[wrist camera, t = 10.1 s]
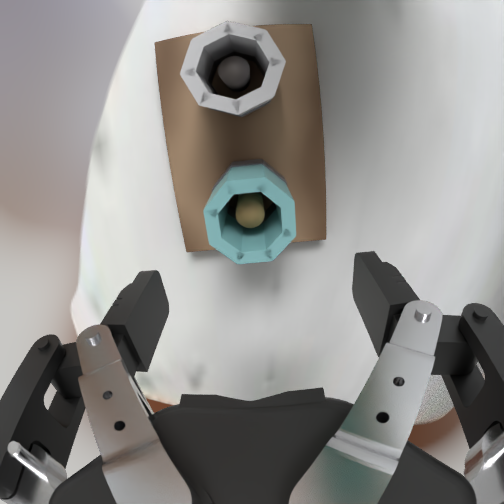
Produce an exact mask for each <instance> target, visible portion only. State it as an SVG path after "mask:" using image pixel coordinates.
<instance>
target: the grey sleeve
mask: <svg viewBox="0 0 504 504" xmlns="http://www.w3.org/2000/svg"><path fill="white" fill-rule="evenodd" d="M231 56H238V57H241V58H243V59H246V60H250V61H253V62H255V63H256V65H257V66H258V68H259V70H260V71H261V73H262V75H263V76H264V80H263V83H262V86H261V87H260V88H258V89H256V90H254V91H252V92H250V93H248V94H246V95H244V96H242V97H240V98H238V99H232V98H228V97H224V96H220V95H218V93H217V92H216V90H215V89H214V87H213V85H212V81H213V78H214V75H215V72H216V69H217V66H219V65H220V63H221V62H222V61H223V60H224V59H226V58H228V57H231ZM285 63H286V61H285V59H284V57H283V56H282V54H281V52H280V51H279V49H278V47H277V46H276V44H275V43H274V41H273V39H272V38H271V36H270V35H269V33H268V32H267V30H265V29H261V28H257V27H253V26H249V25H245V24H240V23H236V22H231V21H226V22H224V23H222V24H219V25H217V26H215V27H213V28H211V29H210V30H208V31H206V32H204V33H202V34H200V35H198V36H196V37H195V38H193V39H192V40H191V42H190V45H189V48H188V51H187V53H186V56H185V59H184V63H183V66H182V69H181V72H180V75H181V77H182V79H183V80H184V82H185V83H186V85H187V87H188V88H189V90H190V92H191V93H192V95H193V97H194V98H195V100H196V102H197V103H198V105H199V106H203V107H208V108H209V109H211V110H215V111H219V112H224V113H227V114H231V115H235V116H239V117H243V116H245V115H247V114H249V113H251V112H253V111H255V110H257V109H259V108H261V107H263V106H265V105H267V104H269V103H270V102H271V99H272V98H273V97H274V96H275V93H276V90H277V87H278V84H279V81H280V78H281V75H282V72H283V69H284V66H285Z"/></svg>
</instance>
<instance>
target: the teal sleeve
mask: <svg viewBox="0 0 504 504" xmlns="http://www.w3.org/2000/svg"><path fill="white" fill-rule="evenodd" d="M252 192H262V193H263V194H264V195H265V196H267V197H268V198H269V199H270V200H272V201H273V203H272V204H271V205H270V206H269V208H268V209H267V210H266V211H265V212H264V213H265V216H264V220H263V222H262V223H261V224H260V225H259V226H257V227H254V228H246V227H243V226H242V225H240V224H239V222H238V221H237V219H236V210H235V209H234V208H232V207H231V206H230V205H229V200H230V198H231V197H232V196H233V195H234V194H242V193H252ZM203 212H204V218H205V224H206V230H207V235H208V241H209V245H211V246H212V247H214V248H215V249H216V250H218V251H219V252H221V253H222V254H224V255H225V256H226V257H228V258H229V259H231V260H232V261H233V262H235V263H236V264H247V263H258V262H269V261H273V260H274V259H275V258H276V257H277V256H278V255H279V254H280V253H281V252H282V251H283V250H284V249H285V247H286V246H287V245H288V244H289V243H290V242H291V241H292V240H293V239H294V238H295V237H296V220H295V202H294V199H293V197H292V195H291V193H290V191H289V189H288V187H287V182H286V180H285V178H284V176H282V175H281V174H280V173H279V172H278V171H276V170H275V169H274V168H273V167H271V166H270V165H269V164H268V163H267V162H265V161H264V160H263V159H254V160H244V161H235V162H232V163H231V164H230V166H229V167H228V168H227V169H226V170H225V172H224V173H223V174H222V175H221V177H220V178H219V179H218V181H217V182H216V183H215V185H214V187H213V188H212V194H211V196H210V198H209V200H208V202H207V204H206V206H205V208H204V210H203Z"/></svg>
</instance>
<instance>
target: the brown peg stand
mask: <svg viewBox="0 0 504 504" xmlns="http://www.w3.org/2000/svg"><path fill="white" fill-rule="evenodd" d="M253 27H257V28H261V29H265V30H267V32H268V33H269V35H270V36H271V38H272V39H273V41H274V43H275V44H276V46H277V47H278V49H279V51H280V52H281V54H282V56H283V57H284V59H285V61H286V63H285V66H284V69H283V72H282V75H281V78H280V81H279V84H278V87H277V90H276V93H275V96H274V97H273V98H272V99H271V102H270V103H269V104H267V105H265V106H263V107H261V108H259V109H257V110H255V111H253V112H251V113H249V114H247V115H245V116H243V117H239V116H235V115H231V114H227V113H224V112H219V111H215V110H211V109H209V108H208V107H203V106H199V105H198V103H197V102H196V100H195V98H194V97H193V95H192V93H191V92H190V90H189V88H188V87H187V85H186V83H185V82H184V80H183V79H182V77H181V75H180V72H181V69H182V66H183V63H184V59H185V56H186V53H187V51H188V48H189V45H190V42H191V40H192V39H193V38H195V37H196V36H198V35H200V34H202V33H204V32H201V33H196V34H190V35H185V36H181V37H176V38H171V39H167V40H163V41H159V42H155V53H156V64H157V74H158V83H159V92H160V100H161V108H162V115H163V123H164V130H165V137H166V143H167V150H168V156H169V162H170V168H171V174H172V180H173V186H174V191H175V197H176V202H177V207H178V213H179V218H180V223H181V228H182V233H183V237H184V242H185V247H186V251H187V252H194V251H205V250H215V248H214V247H212V246H211V245H209V241H208V235H207V230H206V224H205V218H204V212H203V210H204V208H205V206H206V204H207V202H208V200H209V198H210V196H211V194H212V188H213V187H214V185H215V183H216V182H217V181H218V179H219V178H220V177H221V175H222V174H223V173H224V172H225V170H226V169H227V168H228V167H229V166H230V164H231V163H232V162H235V161H244V160H254V159H263V160H264V161H265V162H267V163H268V164H269V165H270V166H271V167H273V168H274V169H275V170H276V171H278V172H279V173H280V174H281V175H282V176H284V178H285V180H286V182H287V187H288V189H289V191H290V193H291V195H292V197H293V199H294V202H295V220H296V237H295V238H294V239H293V240H292V241H291V242H302V241H313V240H325V239H326V181H325V157H324V138H323V123H322V110H321V98H320V88H319V78H318V69H317V60H316V52H315V45H314V37H313V30H312V24H278V25H259V26H253ZM263 80H264V76H263V75H262V73H261V71H260V70H259V68H258V66H257V65H256V63H255V62H253V61H250V60H246V59H243V58H241V57H238V56H231V57H228V58H226V59H224V60H223V61H222V62H221V63H220V65H219V66H217V69H216V72H215V75H214V78H213V81H212V85H213V87H214V89H215V90H216V92H217V93H218V95H220V96H224V97H228V98H232V99H238V98H240V97H242V96H244V95H246V94H248V93H250V92H252V91H254V90H256V89H258V88H260V87H261V86H262V83H263ZM272 203H273V201H272V200H270V199H269V198H268V197H267V196H265V195H264V194H263V193H262V192H252V193H242V194H234V195H233V196H232V197H231V198H230V200H229V205H230V206H231V207H232V208H234V209H235V210H236V219H237V221H238V222H239V224H240V225H242V226H243V227H246V228H254V227H257V226H259V225H260V224H261V223H262V222H263V220H264V216H265V213H264V212H265V211H266V210H267V209H268V208H269V206H270V205H271V204H272ZM291 242H290V243H291Z"/></svg>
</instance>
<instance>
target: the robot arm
mask: <svg viewBox="0 0 504 504" xmlns="http://www.w3.org/2000/svg"><path fill="white" fill-rule="evenodd" d="M352 291H353V298H354V301H355V303H356V306H357V308H358V310H359V312H360V315H361V317H362V319H363V322H364V324H365V326H366V329H367V331H368V333H369V336H370V338H371V341H372V343H373V345H374V348H375V350H376V353H377V355H378V357H379V359H378V361H377V363H376V365H375V367H374V369H373V371H372V373H371V375H370V377H369V378H368V380H367V382H366V384H365V386H364V388H363V390H362V391H361V393H360V395H359V397H358V398H357V400H356V402H355V404H352V403H349V402H347V401H343V400H340V399H335V398H327V397H325V395H324V390H323V388H315V389H306V390H297V391H287V392H284V393H281V394H277V395H274V396H270V397H266V398H263V399H259V400H255V401H244V400H239V399H233V398H228V397H223V396H218V395H190V394H182V395H181V400H180V404H178V405H174V406H170V407H167V408H164V409H162V410H160V411H158V412H156V413H153V411H152V409H151V407H150V405H149V404H148V402H147V400H146V398H145V396H144V394H143V392H142V390H141V388H140V386H139V384H138V382H137V380H136V379H135V377H134V376H135V373H136V371H140V372H148V369H149V366H150V363H151V360H152V358H153V355H154V352H155V349H156V347H157V344H158V341H159V338H160V336H161V333H162V330H163V328H164V325H165V323H166V320H167V317H168V314H169V303H168V299H167V296H166V293H165V289H164V286H163V283H162V279H161V276H160V273H159V272H158V271H157V270H152V271H141V272H139V273H138V275H137V276H136V278H135V280H134V281H133V283H132V284H129V285H128V286H126V287H125V288H124V289H123V290H122V291H121V292H120V294H119V295H118V297H117V300H115V301H114V303H113V306H111V308H110V309H109V311H108V312H107V314H106V316H105V317H104V319H103V320H102V322H101V324H100V325H94V326H91V327H88V328H87V329H85V330H84V331H82V332H81V333H80V335H79V336H78V338H77V340H76V342H74V343H69V344H64V345H62V344H61V342H60V340H59V338H58V337H57V336H56V335H46V336H43V337H42V338H40V339H39V340H37V341H36V342H35V343H34V344H33V346H32V347H31V349H30V350H29V352H28V354H27V355H26V357H25V358H24V360H23V362H22V363H21V365H20V367H19V368H18V370H17V371H16V373H15V375H14V377H13V378H12V380H11V382H10V384H9V385H8V387H7V389H6V391H5V393H4V394H3V396H2V398H1V400H0V499H1V500H2V501H4V502H6V503H7V504H504V325H503V324H502V323H501V321H500V320H499V319H498V317H497V316H496V315H495V313H494V312H493V311H492V310H491V309H490V308H488V307H487V306H485V305H482V304H478V303H471V304H468V305H466V306H465V307H464V309H463V312H462V315H461V316H452V315H442V312H441V310H440V309H439V308H438V307H437V306H436V305H434V304H433V303H431V302H428V301H423V300H420V299H419V298H418V296H417V295H416V294H415V292H414V291H413V290H412V288H411V287H410V285H409V284H408V283H407V282H406V280H405V279H404V277H403V276H402V275H401V273H400V272H399V271H398V269H397V268H396V267H394V266H393V265H391V264H389V263H388V262H382V261H381V260H380V258H379V257H378V256H377V254H376V253H375V252H374V251H370V252H360V253H356V254H355V258H354V272H353V285H352ZM478 361H479V363H480V365H481V367H482V369H483V371H484V373H485V380H484V378H483V376H482V374H481V372H480V370H479V368H478V367H477V365H476V364H477V362H478ZM430 375H441V376H442V378H443V380H444V382H445V385H446V387H447V390H448V392H449V394H450V397H451V399H452V402H453V404H454V407H455V409H456V412H457V414H458V417H459V419H460V422H461V425H462V428H463V431H464V433H465V436H466V439H467V442H468V445H469V448H470V450H469V451H468V453H467V455H466V458H465V469H464V476H465V477H464V476H463V475H462V474H460V473H459V472H457V471H455V470H454V469H452V468H450V467H449V466H447V465H445V464H444V463H442V462H441V461H439V460H437V459H436V458H434V457H432V456H431V455H429V454H428V453H426V452H425V451H423V450H422V449H420V448H418V447H417V446H415V445H414V444H412V443H411V442H409V441H408V437H409V435H410V432H411V430H412V427H413V425H414V422H415V420H416V417H417V414H418V412H419V409H420V406H421V403H422V400H423V397H424V394H425V391H426V388H427V385H428V382H429V379H430ZM50 383H52V385H53V386H54V387H55V389H56V390H57V392H56V394H55V396H54V398H53V400H52V403H51V405H50V407H49V409H48V410H47V409H46V408H45V405H44V395H45V393H46V391H47V389H48V387H49V385H50ZM85 408H86V411H87V415H88V418H89V421H90V425H91V428H92V431H93V434H94V437H95V440H96V443H97V445H98V448H99V451H100V454H101V455H100V456H98V457H97V458H96V459H94V460H93V461H91V462H90V463H89V464H87V465H86V466H85V467H83V468H82V469H80V470H79V471H78V472H76V473H75V474H73V475H72V476H71V477H70V478H68V479H67V473H66V470H65V468H66V465H67V462H68V458H69V455H70V452H71V449H72V446H73V442H74V439H75V436H76V433H77V431H78V427H79V425H80V422H81V419H82V416H83V413H84V411H85Z"/></svg>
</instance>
